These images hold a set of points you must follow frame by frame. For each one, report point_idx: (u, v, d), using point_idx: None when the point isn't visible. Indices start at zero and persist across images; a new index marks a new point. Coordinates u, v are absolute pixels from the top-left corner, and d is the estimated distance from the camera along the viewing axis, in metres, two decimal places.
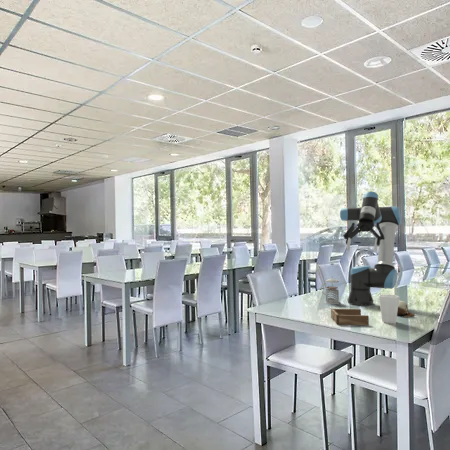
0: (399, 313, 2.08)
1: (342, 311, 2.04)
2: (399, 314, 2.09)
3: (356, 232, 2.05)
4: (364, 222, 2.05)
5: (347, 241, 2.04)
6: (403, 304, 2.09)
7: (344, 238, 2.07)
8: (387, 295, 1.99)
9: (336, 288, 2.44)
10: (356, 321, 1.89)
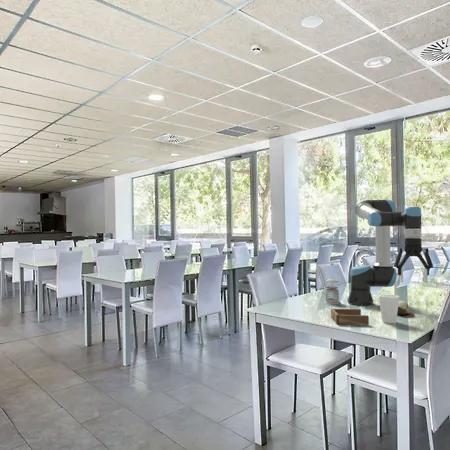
0: (400, 313, 2.08)
1: (342, 311, 2.04)
2: (400, 314, 2.09)
3: None
4: (412, 247, 1.93)
5: (400, 273, 1.94)
6: (404, 304, 2.09)
7: (394, 266, 1.96)
8: (387, 295, 1.99)
9: (336, 288, 2.44)
10: (356, 321, 1.89)
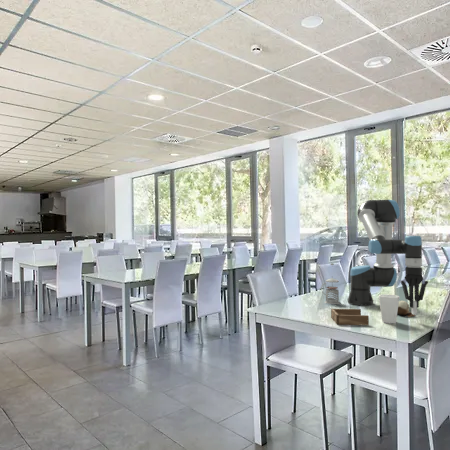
0: (401, 313, 2.08)
1: (342, 311, 2.04)
2: (401, 314, 2.09)
3: None
4: (413, 276, 1.93)
5: (412, 305, 1.93)
6: (405, 304, 2.09)
7: (406, 298, 1.95)
8: (387, 295, 1.99)
9: (336, 288, 2.44)
10: (356, 321, 1.89)
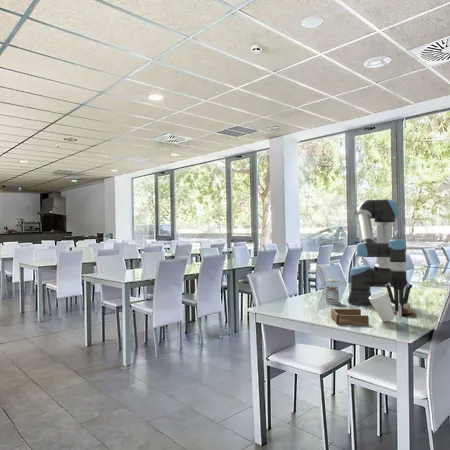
0: (402, 313, 2.08)
1: (342, 311, 2.04)
2: (402, 314, 2.09)
3: None
4: (398, 280, 1.94)
5: (397, 309, 1.94)
6: (406, 304, 2.09)
7: (391, 302, 1.96)
8: (376, 294, 2.00)
9: (336, 288, 2.44)
10: (356, 321, 1.89)
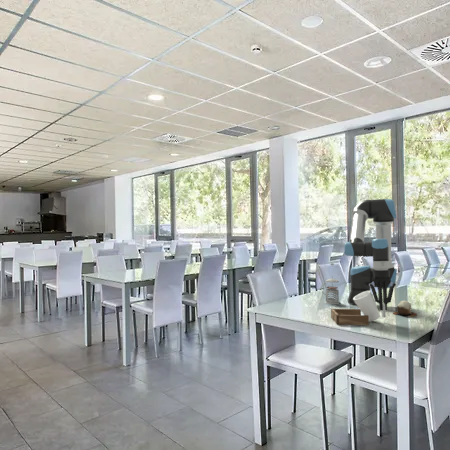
0: (403, 313, 2.08)
1: (342, 311, 2.04)
2: (403, 314, 2.09)
3: None
4: (381, 279, 1.94)
5: (382, 308, 1.94)
6: (407, 304, 2.09)
7: (375, 301, 1.96)
8: (360, 294, 2.00)
9: (336, 288, 2.44)
10: (356, 321, 1.89)
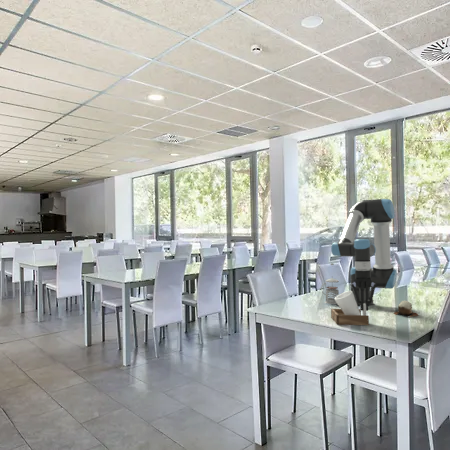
0: (404, 313, 2.08)
1: (342, 311, 2.04)
2: (404, 314, 2.09)
3: None
4: (362, 279, 1.95)
5: (362, 308, 1.95)
6: (408, 304, 2.09)
7: (356, 301, 1.97)
8: (342, 294, 2.01)
9: (336, 288, 2.44)
10: (356, 321, 1.89)
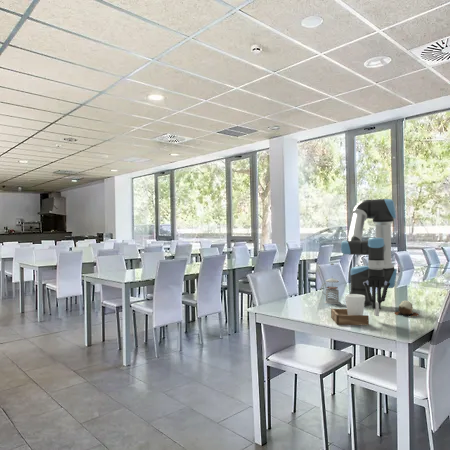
0: (405, 313, 2.08)
1: (342, 311, 2.04)
2: (405, 314, 2.09)
3: None
4: (375, 278, 1.95)
5: (374, 306, 1.96)
6: (408, 304, 2.09)
7: (368, 300, 1.97)
8: (353, 295, 2.00)
9: (336, 288, 2.44)
10: (356, 321, 1.89)
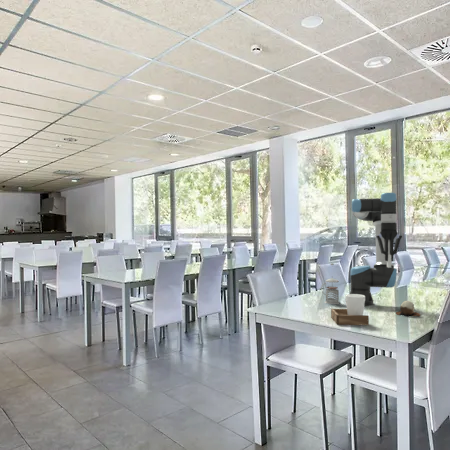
0: (406, 313, 2.08)
1: (342, 311, 2.04)
2: (406, 314, 2.08)
3: None
4: (388, 231, 2.03)
5: (387, 258, 2.04)
6: (410, 304, 2.09)
7: (381, 253, 2.05)
8: (353, 295, 2.00)
9: (336, 288, 2.44)
10: (356, 321, 1.89)
